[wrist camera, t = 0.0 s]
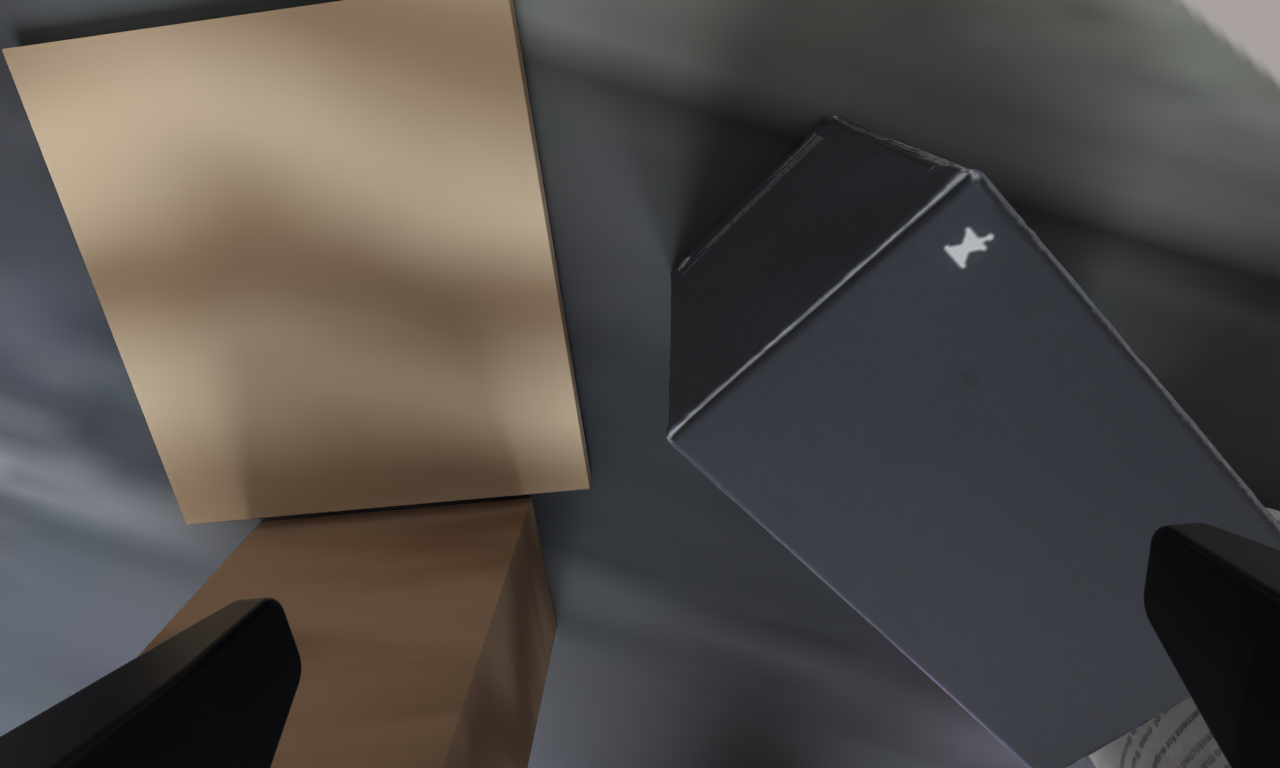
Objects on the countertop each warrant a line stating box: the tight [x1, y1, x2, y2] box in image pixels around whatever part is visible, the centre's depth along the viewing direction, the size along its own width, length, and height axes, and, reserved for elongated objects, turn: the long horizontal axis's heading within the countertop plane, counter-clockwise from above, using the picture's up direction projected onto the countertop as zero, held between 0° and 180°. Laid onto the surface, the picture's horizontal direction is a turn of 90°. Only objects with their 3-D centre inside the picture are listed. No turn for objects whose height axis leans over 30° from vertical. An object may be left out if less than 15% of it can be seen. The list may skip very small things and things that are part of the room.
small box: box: [667, 116, 1280, 768], centre depth 17 cm, size 11×6×10 cm, turn 46°
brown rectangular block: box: [138, 498, 557, 768], centre depth 20 cm, size 5×9×12 cm, turn 97°
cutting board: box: [2, 0, 591, 524], centre depth 22 cm, size 14×13×1 cm
